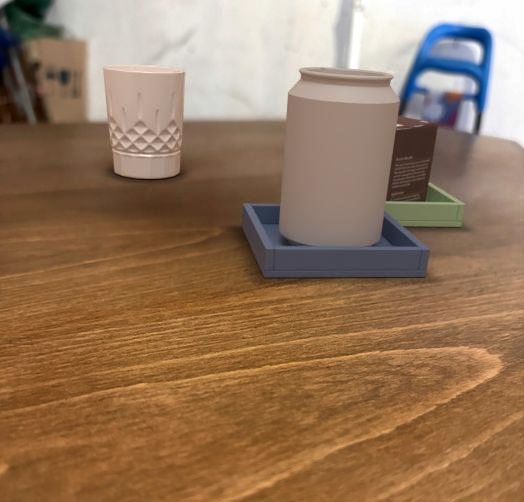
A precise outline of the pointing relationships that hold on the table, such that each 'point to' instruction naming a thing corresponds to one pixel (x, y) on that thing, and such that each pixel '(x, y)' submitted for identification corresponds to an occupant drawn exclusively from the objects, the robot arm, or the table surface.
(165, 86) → the white cup
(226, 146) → the table surface
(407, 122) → the box
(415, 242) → the tray blue
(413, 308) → the table surface
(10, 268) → the table surface
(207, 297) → the table surface
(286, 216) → the can
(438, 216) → the tray green
